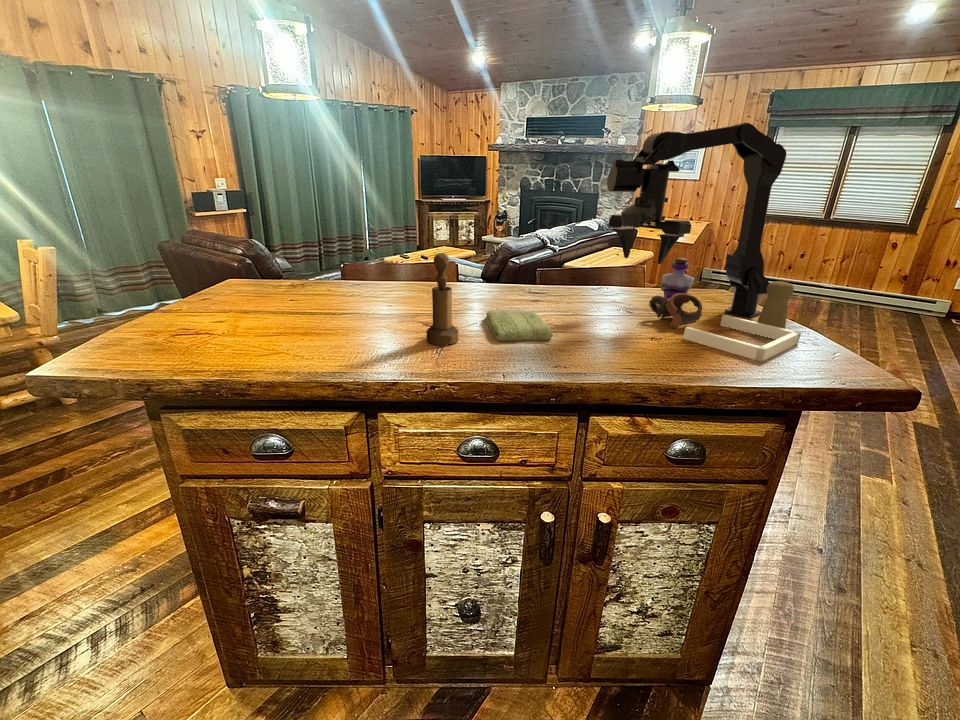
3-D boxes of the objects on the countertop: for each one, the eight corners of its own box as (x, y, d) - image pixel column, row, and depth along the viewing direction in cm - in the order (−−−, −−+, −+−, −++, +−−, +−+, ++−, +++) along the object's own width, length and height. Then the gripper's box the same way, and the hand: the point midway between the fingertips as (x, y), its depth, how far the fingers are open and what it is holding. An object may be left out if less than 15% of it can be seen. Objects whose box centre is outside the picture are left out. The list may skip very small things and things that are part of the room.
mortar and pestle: (462, 337, 100) (463, 252, 93) (451, 347, 94) (450, 257, 87) (434, 334, 102) (432, 250, 95) (421, 343, 96) (418, 255, 89)
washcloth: (535, 318, 115) (536, 306, 114) (555, 343, 99) (556, 328, 98) (482, 320, 114) (482, 307, 112) (493, 345, 97) (494, 330, 96)
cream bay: (722, 324, 112) (724, 314, 111) (797, 343, 100) (801, 332, 99) (683, 338, 102) (685, 327, 101) (761, 361, 90) (764, 349, 89)
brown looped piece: (696, 321, 116) (710, 297, 109) (686, 347, 111) (700, 323, 104) (648, 303, 119) (659, 279, 112) (637, 327, 114) (648, 303, 107)
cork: (789, 333, 106) (802, 285, 102) (760, 331, 107) (772, 284, 103) (779, 325, 112) (791, 280, 107) (751, 323, 113) (762, 278, 108)
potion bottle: (654, 296, 136) (661, 255, 131) (685, 298, 135) (693, 256, 130) (661, 304, 128) (668, 260, 123) (694, 306, 127) (702, 261, 122)
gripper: (598, 191, 110) (590, 258, 116) (671, 195, 96) (659, 270, 102) (626, 190, 116) (617, 254, 122) (698, 194, 103) (685, 265, 109)
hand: (642, 260), depth 114 cm, fingers open, 9 cm apart
